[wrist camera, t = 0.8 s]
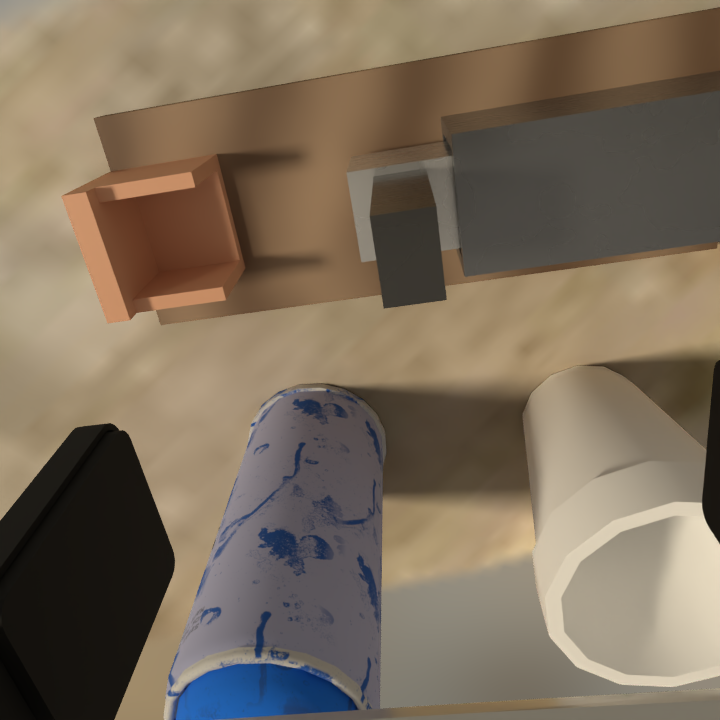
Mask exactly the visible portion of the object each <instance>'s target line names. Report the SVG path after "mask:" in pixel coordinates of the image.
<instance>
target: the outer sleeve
mask: <svg viewBox="0 0 720 720" xmlns="http://www.w3.org/2000/svg"><path fill="white" fill-rule="evenodd" d="M440 118H441V128H442V138H443V142H444V141H447V142H448V144H449V145H450V147H451V150H452V160H453V171H454V181H455V191H456V202H457V212H458V223H459V233H460V244H461V248H458V249H456V251H457V254H458V257H459V260H460V263H461V267H462V270H463V273H464V276H465V277H468V276H475V275H482V274H490V273H497V272H504V271H511V270H518V269H526V268H533V267H540V266H547V265H554V264H562V263H569V262H576V261H583V260H590V259H598V258H605V257H612V256H619V255H626V254H634V253H641V252H648V251H655V250H662V249H670V248H677V247H684V246H691V245H698V244H706V243H713V242H720V70H719V71H713V72H707V73H701V74H695V75H689V76H683V77H677V78H671V79H665V80H659V81H653V82H647V83H641V84H635V85H629V86H623V87H617V88H611V89H605V90H599V91H593V92H587V93H581V94H575V95H569V96H563V97H557V98H551V99H545V100H539V101H533V102H527V103H520V104H514V105H508V106H502V107H496V108H490V109H484V110H478V111H472V112H466V113H460V114H454V115H448V116H442V117H440Z"/></svg>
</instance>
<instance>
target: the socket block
mask: <svg viewBox="0 0 720 720" xmlns="http://www.w3.org/2000/svg"><path fill="white" fill-rule="evenodd" d="M62 199H63V202H64V205H65V207H66V210H67V213H68V216H69V218H70V221H71V224H72V227H73V229H74V232H75V235H76V238H77V240H78V243H79V246H80V249H81V251H82V254H83V257H84V259H85V262H86V265H87V268H88V270H89V273H90V276H91V279H92V281H93V284H94V287H95V290H96V292H97V295H98V298H99V301H100V303H101V306H102V309H103V312H104V314H105V317H106V320H107V323H113V322H120V321H127V320H131V319H132V318H133V316H134V315H135V314H136V313H139V312H146V311H153V310H160V309H167V308H174V307H181V306H188V305H196V304H203V303H210V302H217V301H224V300H226V299H227V298H228V296H229V294H230V293H231V291H232V290H233V288H234V286H235V285H236V283H237V281H238V280H239V278H240V276H241V275H242V273H243V271H244V270H245V265H244V261H243V257H242V253H241V249H240V245H239V241H238V237H237V233H236V229H235V225H234V221H233V217H232V213H231V209H230V205H229V201H228V197H227V193H226V189H225V185H224V181H223V177H222V173H221V169H220V165H219V161H218V157H217V154H213V155H207V156H201V157H195V158H189V159H183V160H177V161H171V162H165V163H159V164H153V165H147V166H141V167H135V168H129V169H123V170H117V171H111V172H109V173H107V174H105V175H103V176H101V177H99V178H97V179H95V180H93V181H91V182H89V183H87V184H85V185H83V186H81V187H79V188H77V189H75V190H73V191H71V192H69V193H67V194H65V195H63V196H62Z"/></svg>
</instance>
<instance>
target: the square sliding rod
mask: <svg viewBox="0 0 720 720" xmlns="http://www.w3.org/2000/svg"><path fill="white" fill-rule="evenodd" d="M346 173H347V179H348V185H349V191H350V197H351V203H352V209H353V215H354V221H355V227H356V233H357V239H358V245H359V251H360V257H361V262H367V261H374V260H376V261H377V268H378V274H379V280H380V287H381V293H382V299H383V306H384V308H391V307H398V306H405V305H413V304H420V303H428V302H435V301H442V300H447V299H446V290H445V281H444V271H443V262H442V253H441V251H444V250H451V249H458V248H461V244H460V233H459V223H458V212H457V202H456V191H455V181H454V171H453V160H452V150H451V147H450V145H449V144H448V142H447V141H444V142H438V143H432V144H426V145H419V146H413V147H407V148H401V149H395V150H388V151H382V152H376V153H370V154H364V155H358V156H351V159H350V162H349V166H348V169H347V172H346Z"/></svg>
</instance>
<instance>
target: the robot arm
mask: <svg viewBox="0 0 720 720" xmlns="http://www.w3.org/2000/svg"><path fill="white" fill-rule="evenodd" d="M702 509H703V514H704V518H705V520H706V523H707V525H708V527H709V528H710V530H711V531H712V533H713V534H714V536H715V538H716V539H717V541H718V542H719V544H720V360H719V361H718V362H717V363H716V365H715V368H714V375H713V385H712V396H711V407H710V418H709V429H708V440H707V451H706V462H705V472H704V483H703V494H702ZM174 567H175V558H174V552H173V549H172V546H171V544H170V541H169V539H168V536H167V533H166V531H165V528H164V525H163V523H162V520H161V518H160V515H159V512H158V510H157V507H156V504H155V502H154V499H153V497H152V494H151V491H150V489H149V486H148V483H147V481H146V478H145V476H144V473H143V470H142V468H141V465H140V462H139V460H138V457H137V455H136V452H135V449H134V447H133V444H132V441H131V439H130V437H129V435H128V434H127V433H126V432H125V431H123V430H122V431H119V429H118V428H117V427H116V426H115V425H113V424H111V423H109V424H100V425H92V426H83V427H77V428H75V429H74V430H73V431H72V432H71V433H70V435H69V436H68V437H67V438H66V440H65V441H64V442H63V443H62V445H61V446H60V447H59V448H58V450H57V451H56V452H55V453H54V455H53V456H52V457H51V458H50V460H49V461H48V462H47V463H46V465H45V466H44V467H43V468H42V469H41V471H40V472H39V473H38V474H37V476H36V477H35V478H34V479H33V481H32V482H31V483H30V484H29V486H28V487H27V488H26V489H25V491H24V492H23V493H22V494H21V496H20V497H19V498H18V499H17V501H16V502H15V503H14V504H13V506H12V507H11V508H10V509H9V511H8V512H7V513H6V514H5V516H4V517H3V518H2V519H1V521H0V720H114V719H115V716H116V714H117V711H118V709H119V707H120V704H121V702H122V699H123V697H124V694H125V692H126V689H127V687H128V684H129V682H130V679H131V677H132V674H133V672H134V670H135V667H136V664H137V662H138V660H139V657H140V654H141V652H142V650H143V647H144V645H145V642H146V640H147V637H148V635H149V632H150V630H151V627H152V625H153V623H154V620H155V618H156V615H157V613H158V610H159V608H160V605H161V603H162V600H163V598H164V595H165V593H166V590H167V588H168V585H169V583H170V580H171V578H172V576H173V572H174ZM219 720H720V688H717V689H700V690H684V691H665V692H647V693H631V694H613V695H596V696H579V697H561V698H544V699H527V700H511V701H496V702H480V703H463V704H447V705H431V706H416V707H400V708H385V709H369V710H353V711H338V712H322V713H307V714H292V715H276V716H262V717H248V718H233V719H219Z"/></svg>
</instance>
